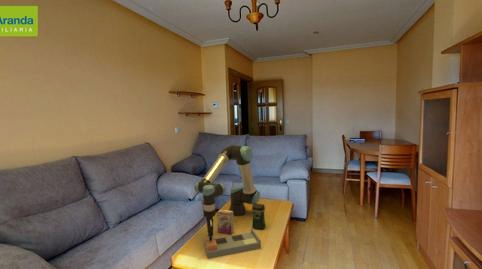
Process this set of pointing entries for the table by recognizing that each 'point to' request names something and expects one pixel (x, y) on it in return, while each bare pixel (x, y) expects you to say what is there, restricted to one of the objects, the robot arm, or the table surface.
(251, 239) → the block
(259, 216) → the coffee jar
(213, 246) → the block
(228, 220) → the candy bar box
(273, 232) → the table surface
